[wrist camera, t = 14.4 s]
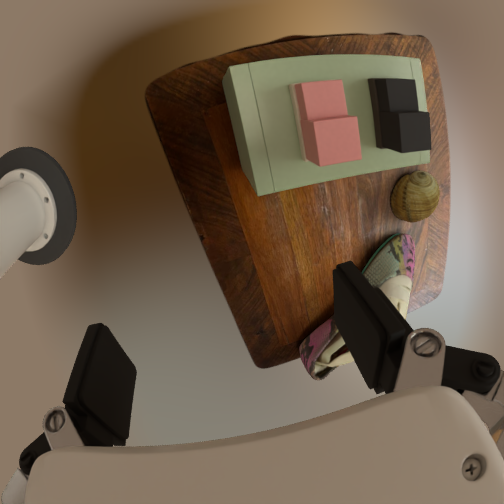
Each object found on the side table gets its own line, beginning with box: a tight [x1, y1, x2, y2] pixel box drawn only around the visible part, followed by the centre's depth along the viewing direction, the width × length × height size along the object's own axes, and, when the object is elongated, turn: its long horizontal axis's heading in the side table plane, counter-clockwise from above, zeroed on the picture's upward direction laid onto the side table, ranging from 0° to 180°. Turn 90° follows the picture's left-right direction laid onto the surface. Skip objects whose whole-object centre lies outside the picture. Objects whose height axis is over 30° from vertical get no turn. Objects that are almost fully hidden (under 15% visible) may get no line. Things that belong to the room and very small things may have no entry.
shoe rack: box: [222, 54, 430, 196], centre depth 28 cm, size 20×12×12 cm, turn 102°
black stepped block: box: [368, 78, 431, 153], centre depth 21 cm, size 7×4×4 cm, turn 12°
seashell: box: [391, 171, 440, 222], centre depth 39 cm, size 10×7×8 cm
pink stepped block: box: [289, 80, 362, 167], centre depth 21 cm, size 7×4×4 cm, turn 12°
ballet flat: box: [299, 233, 415, 380], centre depth 45 cm, size 10×30×11 cm, turn 145°
